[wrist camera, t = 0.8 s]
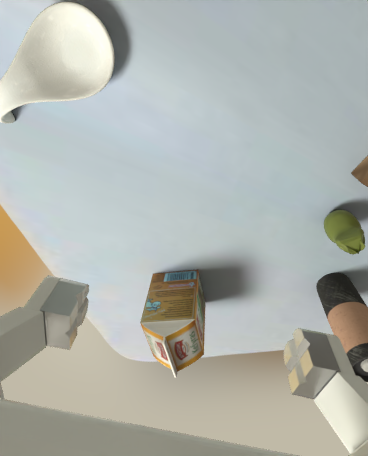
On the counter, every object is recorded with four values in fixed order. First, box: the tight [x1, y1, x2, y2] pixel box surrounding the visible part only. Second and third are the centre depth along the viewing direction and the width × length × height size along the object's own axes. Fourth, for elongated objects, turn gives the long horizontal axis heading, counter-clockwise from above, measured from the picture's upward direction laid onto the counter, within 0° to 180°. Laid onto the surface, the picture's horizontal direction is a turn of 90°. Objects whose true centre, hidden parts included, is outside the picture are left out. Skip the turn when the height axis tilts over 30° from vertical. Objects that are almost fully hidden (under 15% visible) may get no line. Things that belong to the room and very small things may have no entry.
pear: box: [324, 210, 365, 254], centre depth 52 cm, size 6×5×10 cm
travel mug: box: [317, 273, 368, 382], centre depth 57 cm, size 8×8×20 cm
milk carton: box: [140, 270, 205, 378], centre depth 62 cm, size 10×11×19 cm
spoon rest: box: [0, 2, 115, 124], centre depth 44 cm, size 24×12×7 cm, turn 120°
